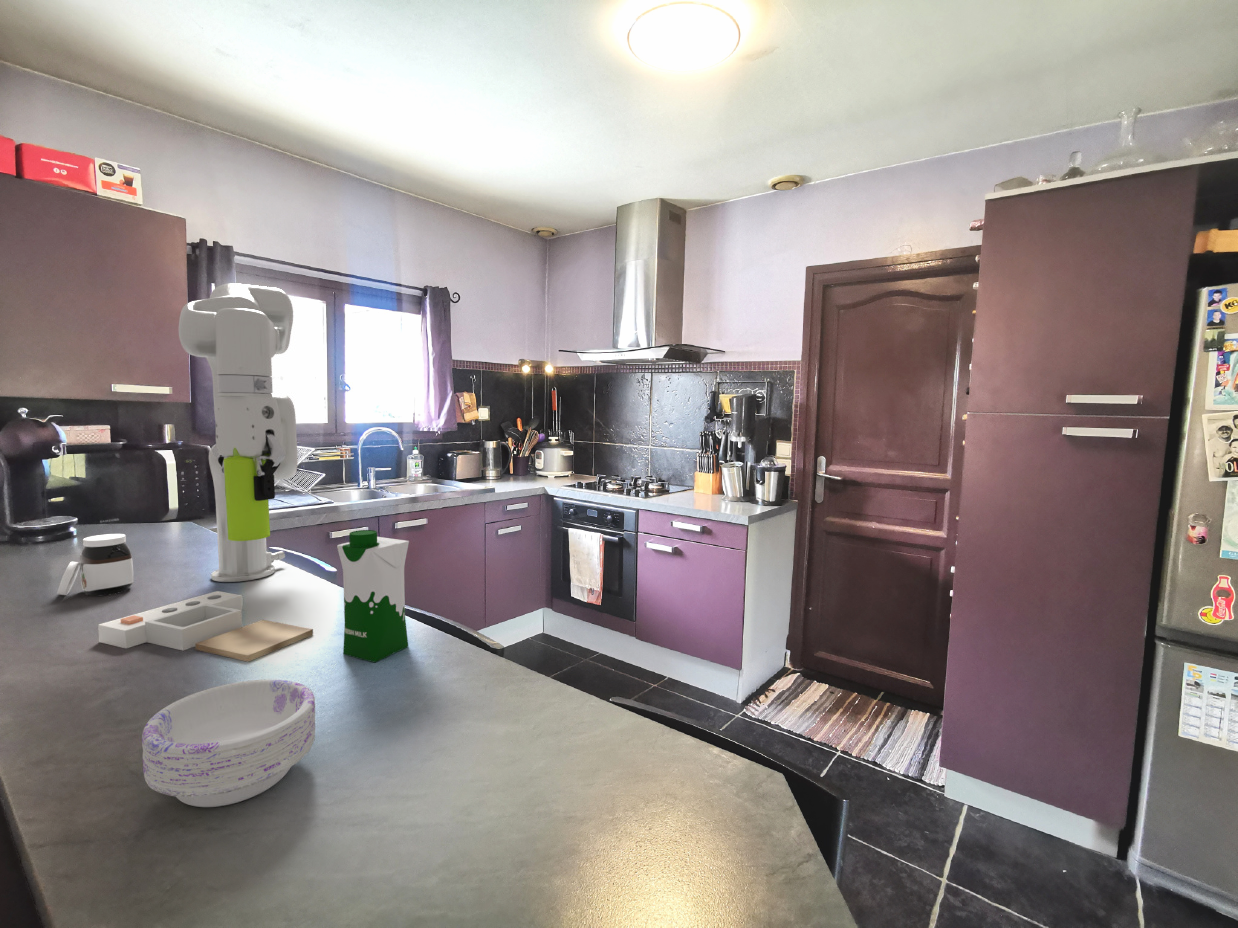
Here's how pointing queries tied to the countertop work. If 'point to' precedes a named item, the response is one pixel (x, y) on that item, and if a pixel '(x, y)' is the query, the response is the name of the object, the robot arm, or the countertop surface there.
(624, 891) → the countertop surface
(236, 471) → the soap dispenser
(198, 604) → the white holder tray
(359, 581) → the milk carton
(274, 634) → the oak board
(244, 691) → the paper bowls
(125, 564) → the spread jar
